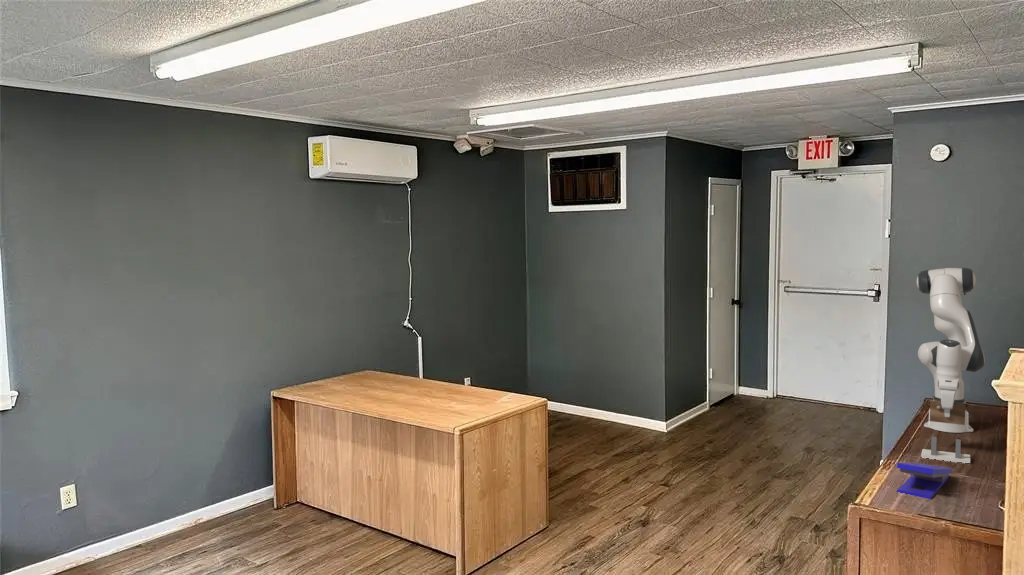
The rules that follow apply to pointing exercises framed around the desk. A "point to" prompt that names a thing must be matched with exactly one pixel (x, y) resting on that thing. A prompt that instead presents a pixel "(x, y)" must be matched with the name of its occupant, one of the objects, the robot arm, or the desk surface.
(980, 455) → the desk surface
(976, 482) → the desk surface
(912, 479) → the blue stacked plate part
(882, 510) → the desk surface
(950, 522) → the desk surface
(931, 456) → the white and grey rack
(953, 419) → the door panel
